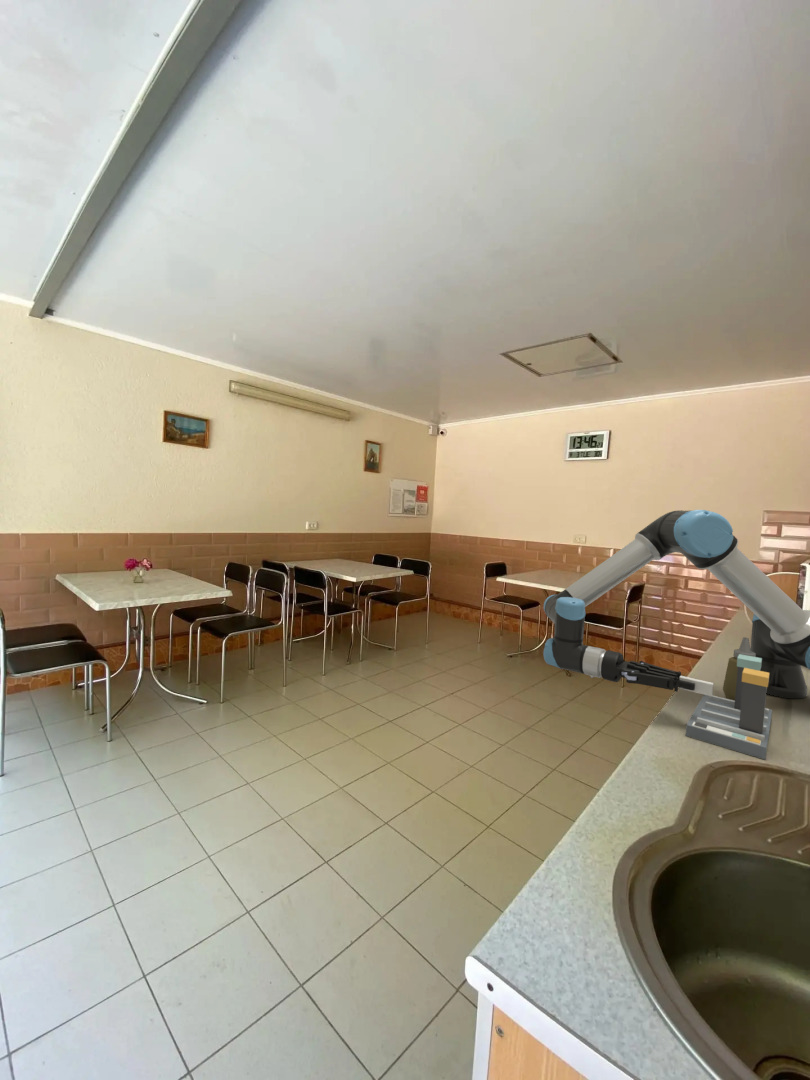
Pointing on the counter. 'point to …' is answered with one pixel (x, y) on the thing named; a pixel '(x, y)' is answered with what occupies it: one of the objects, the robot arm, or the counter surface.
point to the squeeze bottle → (735, 669)
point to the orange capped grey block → (753, 700)
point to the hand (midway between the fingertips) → (712, 689)
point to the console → (727, 727)
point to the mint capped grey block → (742, 663)
